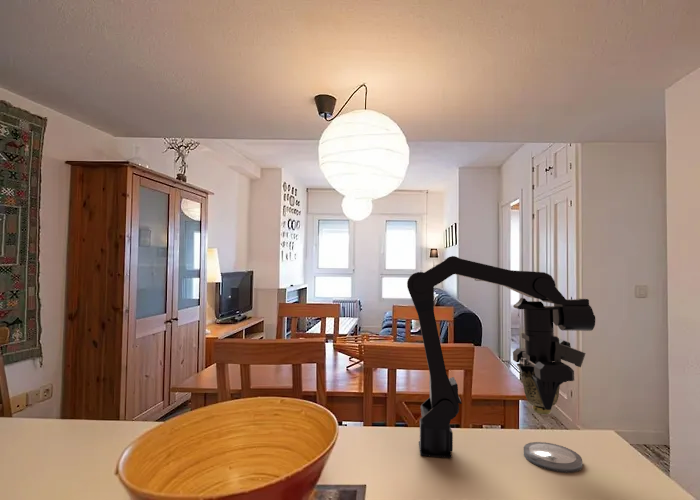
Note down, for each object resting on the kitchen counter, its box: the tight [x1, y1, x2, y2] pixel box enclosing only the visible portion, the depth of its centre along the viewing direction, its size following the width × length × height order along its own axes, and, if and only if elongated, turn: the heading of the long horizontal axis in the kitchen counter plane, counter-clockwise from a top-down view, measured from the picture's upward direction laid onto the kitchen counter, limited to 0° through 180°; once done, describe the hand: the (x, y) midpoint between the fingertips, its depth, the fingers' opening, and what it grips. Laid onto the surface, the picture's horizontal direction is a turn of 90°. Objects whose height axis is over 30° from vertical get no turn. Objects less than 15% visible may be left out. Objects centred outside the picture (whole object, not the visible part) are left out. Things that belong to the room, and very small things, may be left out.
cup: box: [520, 371, 561, 416], centre depth 81 cm, size 8×7×8 cm
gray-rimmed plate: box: [523, 441, 583, 474], centre depth 81 cm, size 11×11×1 cm
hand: (541, 404), depth 81 cm, fingers closed on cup, 6 cm apart
